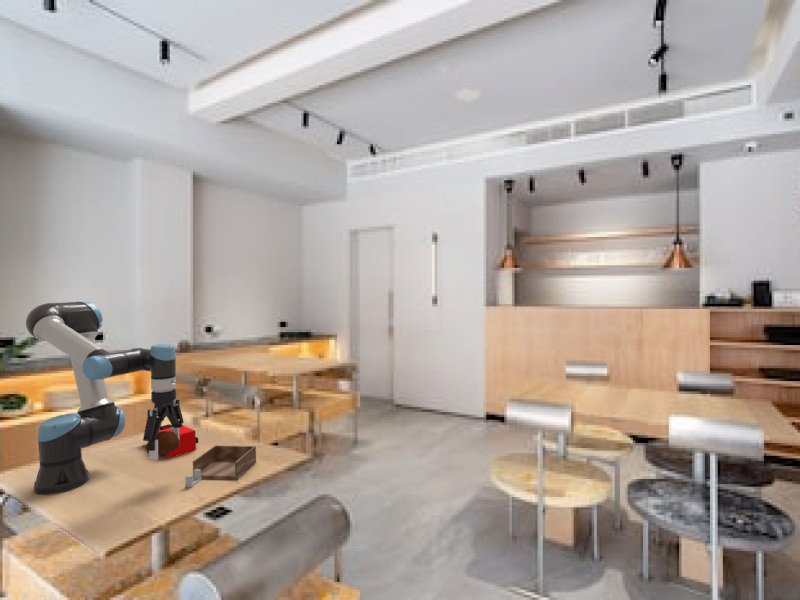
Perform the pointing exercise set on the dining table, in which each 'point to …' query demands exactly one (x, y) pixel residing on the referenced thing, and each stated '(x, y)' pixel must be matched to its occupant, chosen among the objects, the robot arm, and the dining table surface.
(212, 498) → the dining table surface
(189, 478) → the clip
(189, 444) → the red-and-black block model
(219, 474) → the holder
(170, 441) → the potato
